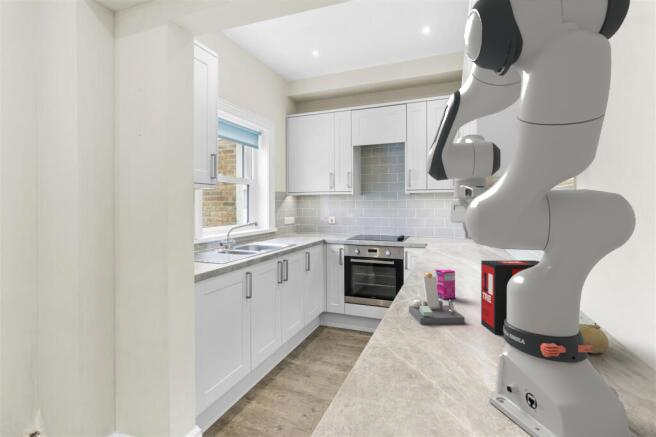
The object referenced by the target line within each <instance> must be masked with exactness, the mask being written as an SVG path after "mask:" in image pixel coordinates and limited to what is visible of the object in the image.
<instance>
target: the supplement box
mask: <svg viewBox="0 0 656 437" xmlns="http://www.w3.org/2000/svg"><path fill="white" fill-rule="evenodd" d="M434 277H435V278H436V285H437V292H438V299H441V300H444V301H447V299H448V300H456V271H455V270H453V269H449V268H437V269H434Z"/></svg>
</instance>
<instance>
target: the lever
mask: <svg viewBox="0 0 656 437" xmlns="http://www.w3.org/2000/svg"><path fill="white" fill-rule="evenodd" d="M424 275H425V276H423V277H422V284H423V289H424V290H423V292H424V299H425V300H424V301H426V302H427V306H428V307H429V308H430V309H440V305H439V301H440V298H439V297H438V292H437V285H436V278H435V276H433V274H432V273H431V272H426V273H425V274H424Z"/></svg>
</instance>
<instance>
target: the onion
mask: <svg viewBox="0 0 656 437" xmlns="http://www.w3.org/2000/svg"><path fill="white" fill-rule="evenodd" d="M579 330H580V331H581V333H582V336H583V339H584V342H585V345H592V346H593V347H591V348H588V349H587V350H591V351H593V352H588V354H593V355H598V354H602V353H605V352H606V351H607V350H608V348H609V345H610V342H609V339H608V336H607V335H606V333H605V332H603V331H602V329H601V326H600V325H598V324H597V322H594V324H586V323H579Z"/></svg>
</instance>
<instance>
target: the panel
mask: <svg viewBox="0 0 656 437" xmlns="http://www.w3.org/2000/svg"><path fill="white" fill-rule="evenodd" d="M422 304H423V305H422V306H427V302H426V300H423V301H422ZM439 305H440V309H431V311H432V316H423V315H422V313H421V312H420V310H419V309H420V308H416V307H413V305H409V306H408V312H409V313H410V314H411V316H412V317H413V318H414V319H415V320H416V321H417V323H419V325H455V324H456V325H457V324H459V325H460V324H464V325H465V322H466V321H465V316H463V315H462V314H461V313H459V312H458V311H457V310H455V311H456V313H449V304H448V305H447V304H444V303H443V301H442V300H439Z"/></svg>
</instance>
